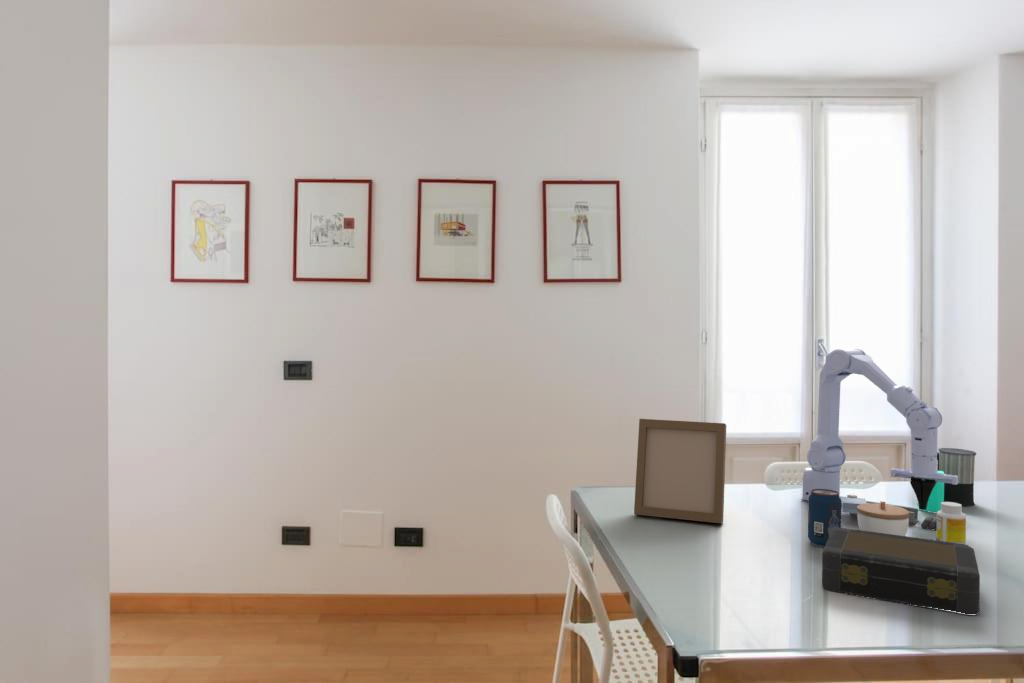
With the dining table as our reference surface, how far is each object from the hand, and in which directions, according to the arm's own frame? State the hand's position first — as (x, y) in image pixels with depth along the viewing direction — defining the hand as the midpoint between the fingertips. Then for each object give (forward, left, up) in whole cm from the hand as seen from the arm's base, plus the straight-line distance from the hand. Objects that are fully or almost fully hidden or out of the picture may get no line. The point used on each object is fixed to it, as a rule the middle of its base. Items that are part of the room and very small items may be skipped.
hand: (922, 508), depth 179 cm
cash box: (+4, -52, -4) cm, 53 cm away
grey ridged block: (+3, 0, -2) cm, 4 cm away
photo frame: (-51, -32, -4) cm, 60 cm away
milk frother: (+1, +28, -4) cm, 28 cm away
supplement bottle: (+8, -20, -4) cm, 22 cm away
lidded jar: (-5, -24, -4) cm, 25 cm away
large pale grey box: (-9, 0, -4) cm, 10 cm away
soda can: (-15, -34, -4) cm, 37 cm away
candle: (-1, +17, -4) cm, 17 cm away
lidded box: (-15, -7, 0) cm, 16 cm away
